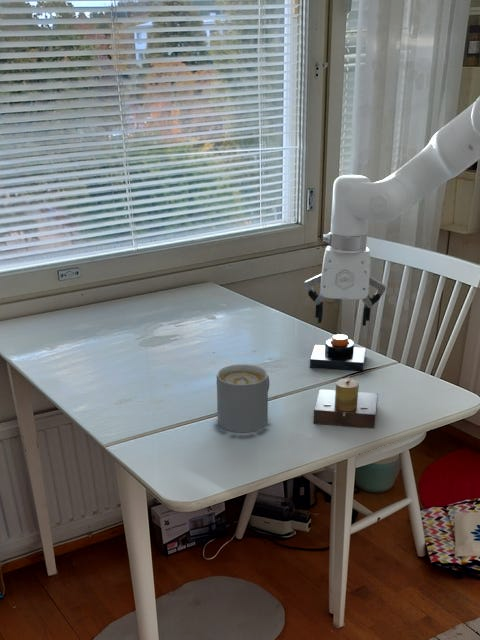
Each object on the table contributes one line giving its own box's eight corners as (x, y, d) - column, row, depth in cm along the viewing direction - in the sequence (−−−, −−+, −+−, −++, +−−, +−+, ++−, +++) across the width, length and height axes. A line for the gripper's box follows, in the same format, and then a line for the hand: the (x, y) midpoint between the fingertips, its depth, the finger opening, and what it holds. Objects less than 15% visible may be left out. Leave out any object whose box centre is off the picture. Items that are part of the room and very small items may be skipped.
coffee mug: (241, 437, 150) (241, 389, 145) (207, 420, 156) (205, 374, 151) (289, 416, 158) (291, 369, 152) (255, 401, 164) (255, 355, 158)
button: (348, 341, 181) (348, 334, 180) (346, 347, 178) (347, 340, 177) (332, 340, 182) (333, 333, 181) (331, 346, 179) (331, 339, 178)
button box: (365, 355, 184) (366, 339, 182) (362, 371, 176) (364, 355, 174) (314, 352, 186) (315, 336, 184) (309, 368, 178) (310, 351, 176)
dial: (355, 412, 152) (357, 387, 149) (333, 410, 153) (334, 385, 150) (357, 402, 156) (360, 377, 153) (335, 400, 157) (337, 376, 154)
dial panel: (376, 406, 161) (378, 392, 159) (373, 432, 152) (375, 418, 150) (318, 402, 163) (319, 388, 161) (312, 427, 154) (312, 413, 152)
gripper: (304, 244, 159) (300, 326, 169) (390, 248, 157) (381, 330, 167) (308, 234, 165) (304, 314, 175) (391, 238, 163) (382, 318, 173)
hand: (342, 322), depth 171 cm, fingers open, 9 cm apart
